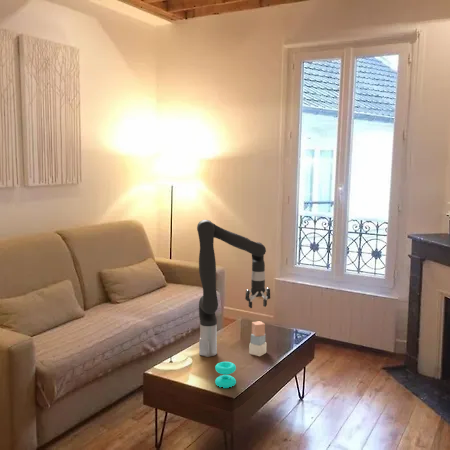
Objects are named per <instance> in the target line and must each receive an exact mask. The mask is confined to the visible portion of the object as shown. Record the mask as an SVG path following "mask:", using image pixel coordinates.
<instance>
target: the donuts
mask: <svg viewBox="0 0 450 450" xmlns="http://www.w3.org/2000/svg"><path fill="white" fill-rule="evenodd" d="M214 368H215V369H214V370H215V371H216V372H217V373H218V374H220V375H219V376H217V377H216V378H215V381H214V383H215V385H216V386H217V387H218V386H219V387H218V388H221V387H223V388H222V389H230V388H229V387H231V388H233V387H234V386H236V384H237V380H236V378H235V377H234V376H232V375H231V374H234V373H235V371H236V370H237V366H236V364H235V363H233V362H231V361H220V362H218V363H216V365H215V366H214ZM232 386H233V387H232Z"/></svg>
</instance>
